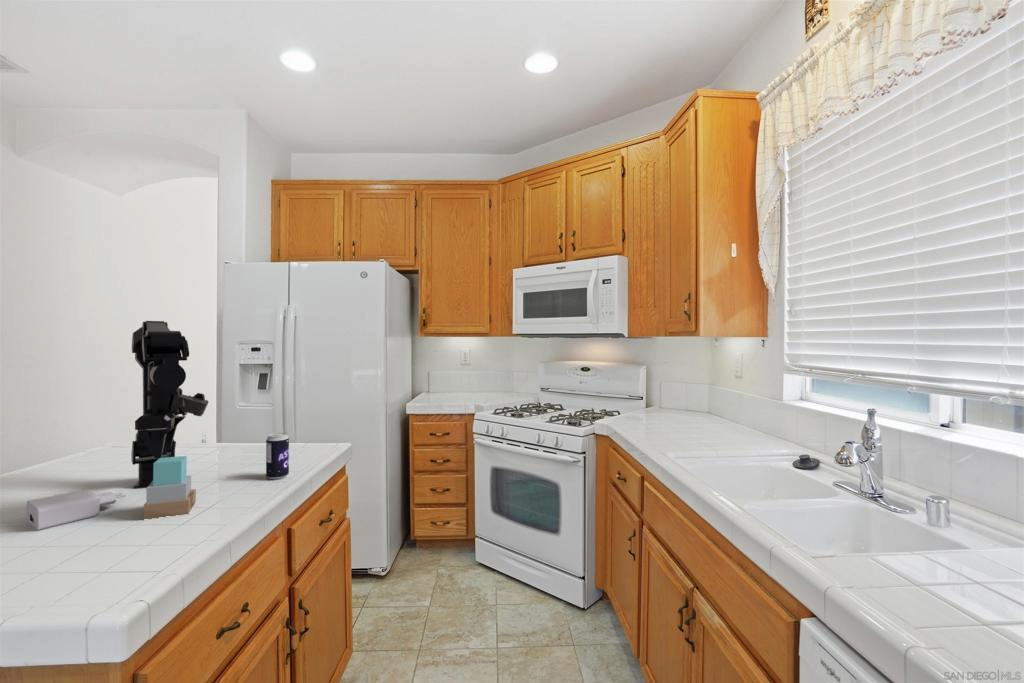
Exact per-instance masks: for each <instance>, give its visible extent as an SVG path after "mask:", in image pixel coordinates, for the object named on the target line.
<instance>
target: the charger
mask: <svg viewBox="0 0 1024 683" xmlns="http://www.w3.org/2000/svg"><path fill="white" fill-rule="evenodd" d="M122 497H123V498H124V497H126V494H123V493H121V492H120V493H116V494H114V493H113V492H111V491H109V492H104V493H99V494H96V493H95V492H93V491H90V490H86V489H80V490H75V491H71V492H64V493H62V494H61V493H60V494H56V495H52V496H46V497H42V498H38V499H37V498H36V499H32V500H28V501H26V521H27V523H28V524H29V523H30V524H31V525H30V524H29V525H30V526H32V528H34V527H35V528H36V529H35V528H34V529H35V530H36V531H40V530H41V529H42V530H45V528H46V529H49V527H50V528H54V527H57V525H58V526H61V524H62V525H65V523H66V524H70V523H73V521H74V522H77V520H78V521H81V519H82V520H85V519H90V518H94V517H96V516H97V515H98V514H99V513H100V507H105V506H106V507H107V506H110V505H114V504H115V503H116V502H117V499H119V498H122ZM31 520H32V521H31ZM69 522H70V523H69ZM53 526H54V527H53Z"/></svg>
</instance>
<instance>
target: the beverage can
mask: <svg viewBox="0 0 1024 683" xmlns="http://www.w3.org/2000/svg"><path fill="white" fill-rule="evenodd" d="M289 446H290V437H289V436H288V433H285V432H277V433H271V434H268V435H267V438H266V440H265V447H266V448H265V450H266V451H265V477H267V478H268V479H269V480H271V479H277V480H281V478H282V479H285V478H286V477H287V476H288V475H289V472H290V447H289ZM284 477H285V478H284Z"/></svg>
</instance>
